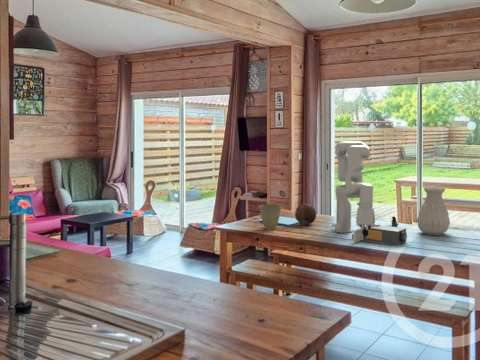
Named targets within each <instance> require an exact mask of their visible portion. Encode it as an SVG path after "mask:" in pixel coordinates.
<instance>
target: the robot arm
mask: <svg viewBox="0 0 480 360" xmlns="http://www.w3.org/2000/svg"><path fill="white" fill-rule="evenodd" d="M334 151H335V156H336V159H337V180H338V181H339V182H341V183H340V184H338V185H336V187H335V197H336V198H335V199H336V223H332V224H331V228H332V227H333V228H334V229H333V231H334V232H336V233H343V234H349V233H353V231H354V229H353V228H352V203H351V201H350V200H349V199H358V201H359V202H357V203H356V205H357V206H358V207H357V210H356V219H355V222H356V223H355V224H356V226H357V227H359V228H362V230H363V233H362V234H363V237H364V236H365V237H366V236H367V235H368V229H369V228H371V227H375V224H376V223H375V222H376V218H375V217H376V216H375V214H376V213H375V210H374V209H375V208H374V207H373V203H374V202H373V200H374V199H373V198H374V195H373V194H374V185H372V184H371V183H368V182H363V172H362V171H363V170H364V167H365V166H364V163H363V162H364V161H363V160H367V159H369V158H370V156H371V150H370V148H369V146H368V145H367V144H366V143H364V142H362V141H360V140H359V141H356V140H355V141H353V140H352V141H349V140H346V141H339V142H337V143H336V144H335V150H334ZM342 182H343V183H342ZM365 226H366V229H365Z"/></svg>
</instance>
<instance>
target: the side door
mask: <svg viewBox="0 0 480 360" xmlns="http://www.w3.org/2000/svg"><path fill="white" fill-rule="evenodd" d="M362 233H363V230H362V228H361V227H358V228H356V229H353V232H352V235H351V240H352V244H357V243H358V242H360V241H362V240H363V234H362Z"/></svg>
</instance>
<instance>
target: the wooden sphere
mask: <svg viewBox="0 0 480 360" xmlns="http://www.w3.org/2000/svg"><path fill="white" fill-rule="evenodd" d="M294 217H295V219H296V222H298V223H299V224H301V225H303V226H309V225H311V224H312V223H314V222H315V220H316V219H317V210H316V209H315V208H314V206H313V205H312V204H309V203H303V204H300V205H299V206H298V207H297V208H296V209H295V211H294Z"/></svg>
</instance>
